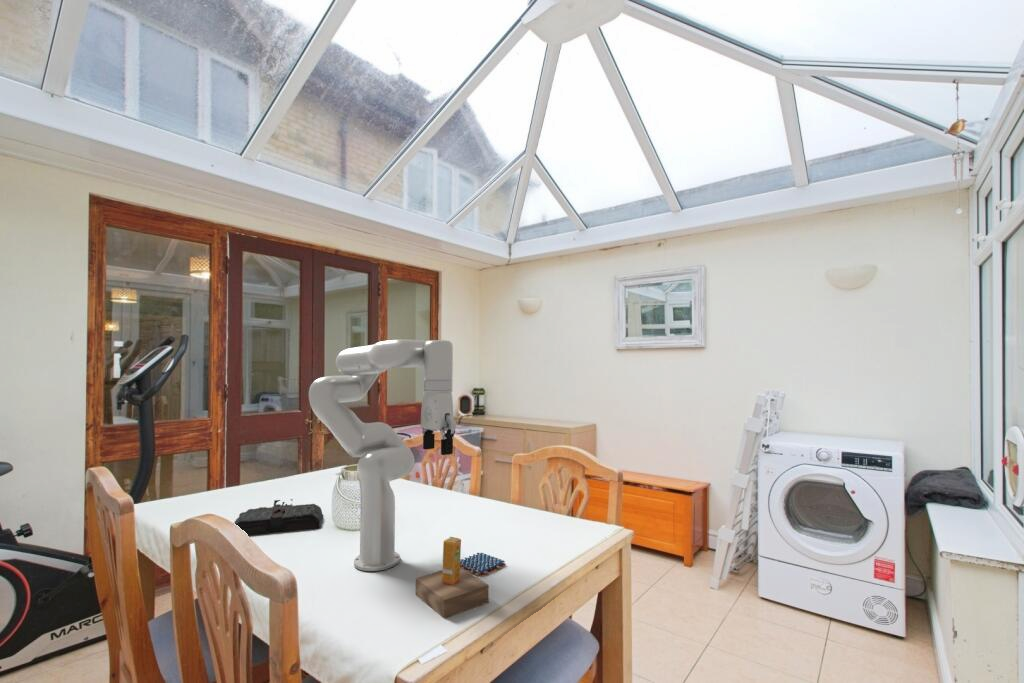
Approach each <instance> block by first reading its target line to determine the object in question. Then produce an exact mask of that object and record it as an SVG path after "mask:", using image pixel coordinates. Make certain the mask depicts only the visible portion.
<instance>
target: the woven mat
mask: <svg viewBox="0 0 1024 683" xmlns="http://www.w3.org/2000/svg"><path fill="white" fill-rule="evenodd" d="M506 566H507V565H506V563H505V560H503V559H500V558H499V557H496V556H492V555H491V554H486V553H484V552H476V554H472V555H468V557H464V559H462V558H460V567H461V568H462V569H464V570H466V571H467V572H469V573H470V574H473V576H476V577H479V578H483V577H484V576H486V575H488V574H491V573H493V572H495V571H498V570H500V569H501V568H504V567H506Z"/></svg>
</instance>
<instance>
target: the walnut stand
mask: <svg viewBox="0 0 1024 683" xmlns="http://www.w3.org/2000/svg"><path fill="white" fill-rule="evenodd" d="M489 586H490V585H489V584H488V583H486V582H485V581H483V580H481V579H480V578H478V576H476V575H474V574H473V573H470V572H467V571H466V569H465V570H464V569H462V568H461V567H460V578H459V581H457V582H456V583H455V584H454V585H450V584H446V583H443V582H442V569H441V570H438V571H435V572H431V573H428V574H424V575H422V576H418V577H415V596H416V597H418V598H419V599H420V600H421V601H422V602H424V603H425V604H426V605H427V606H428V607H429V608H431V609H432V610H433V611H434V612H436V613H437V614H438V615H439V616H440V617H442V618H443V619H447V618H449V617H452V616H454V615H455V616H456V615H457V614H460V613H463V612H465V611H469V610H471V609H475V608H476V607H480V606H482V605H485V604H487V603H489V594H490V593H489Z"/></svg>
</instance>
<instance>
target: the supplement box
mask: <svg viewBox="0 0 1024 683" xmlns="http://www.w3.org/2000/svg"><path fill="white" fill-rule="evenodd" d="M442 545H443V546H442V569H441V570H442V582H443V583H446V584H450V585H454V584H455V583H456V582H457V581H459V578H460V561H461V552H462V551H461V550H462V547H461V546H462V539H461V538H458V537H454V536H449V538H447V539H444V540H443V544H442Z"/></svg>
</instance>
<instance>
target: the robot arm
mask: <svg viewBox="0 0 1024 683" xmlns="http://www.w3.org/2000/svg"><path fill="white" fill-rule="evenodd" d="M453 350H454V349H453V343H452V342H451V341H450V340H445V339H441V340H440V339H431V340H421V339H408V338H407V339H406V338H404V339H403V338H400V339H392V340H391V339H390V340H383V341H379V342H376V343H374V344H369V345H368V344H367V345H363V346H362V345H361V346H356V347H350V348H346V349H344V350H341V351H340V352H339V353H338V354H337V356H336V359H335V366H336V368H337V370H338V371H339V372H340V373H341V374H342V375H328V376H323V377H322V376H321V377H319V378H317V379H315V380H314V381H313V382H312V383H311V385H310V386H309V390H308V401H309V405H310V408H311V409H312V411H313V413H314V415H315V417H316V418H318V420H320V421H321V423H322V424H323V425H324V426H325V427H326V428H327V429H328V430H329V431H330V432H331V434H332V435H333V437H334V438H335V439H336V440H337V441H338V443H339V444H340V446H341V447H342V448H343V449H344V451H345V452H346V453H347V454H348V455H349V456H350V457H352V458H359V460H358V462H357V469H356V472H357V477H358V483H359V484H358V485H359V492H360V493H359V495H360V498H359V499H360V506H359V508H360V519H359V521H360V523H359V525H360V526H359V527H360V529H359V555H357V556H356V557H355V558H354V560H353V566H354V568H356V569H358V570H359V571H365V572H379V571H380V572H381V571H384V570H387V569H391V568H393V567H395V566H397V565H398V564H399V563H400V560H401V555H400V554H399V553H398V552H396V550H395V548H396V547H395V544H396V543H395V542H396V541H395V540H396V537H395V535H396V534H395V533H396V532H395V531H396V530H395V529H396V528H395V527H396V526H395V525H396V498H395V497H396V496H395V493H394V490H393V489H392V487H391V484H390V482H392V481H396V480H398V479H402V478H405V477H407V476H409V475H410V474H411V473H412V472H413V470H414V468H415V467H416V466H415V464H416V462H415V461H416V460H415V457H414V454H413V452H412V450H411V449H410V447H409V446H408V445H407V444H406V443H405V441H404V440H403V439H402V437H400V435H399V434H398V433H397V432H396V431H395V429H394V428H392V427H391V426H390V425H389V424H387V423H386V422H385V423H384V422H380V421H376V422H375V421H374V422H363V421H362V420H361V419H360V418H359V417H358V416H357V414H355V412H354V411H353V410H352V409H350V408H348V407H347V406H345V405H343V404H341V403H351V402H352V403H353V402H358V401H360V400H362V399H363V398H364V397H366V394H367V393H368V391H369V390H370V389H371V387H372V386H373V385H374V383H375V382H376V380H377V379H378V377H379V375H380V374H382V373H385V372H386V371H387V370H388V369H397V368H398V369H401V368H402V369H403V368H423V393H422V399H421V400H422V401H421V407H420V408H421V411H420V412H421V413H420V426H421V429H422V435H423V436H422V449H423V450H425V451H426V450H433V449H435V441H436V440H435V433H434V432H440V435H441V439H440V455H442V456H447V455H452V454H453V452H454V450H453V449H454V447H453V446H454V438H455V433H456V429H457V424H458V423H457V422H456V420H455V419H454V403H453V401H454V400H453V394H452V393H453V371H454V370H453V368H454V367H453V365H454V364H453V363H454V362H453V359H454V357H453ZM343 374H344V375H343Z"/></svg>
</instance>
